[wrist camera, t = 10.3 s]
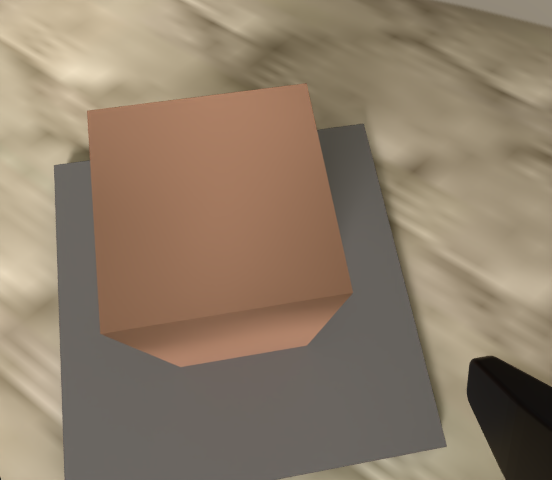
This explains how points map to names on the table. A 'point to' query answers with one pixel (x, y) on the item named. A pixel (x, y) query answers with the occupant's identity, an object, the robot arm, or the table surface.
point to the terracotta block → (214, 225)
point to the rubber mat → (248, 363)
